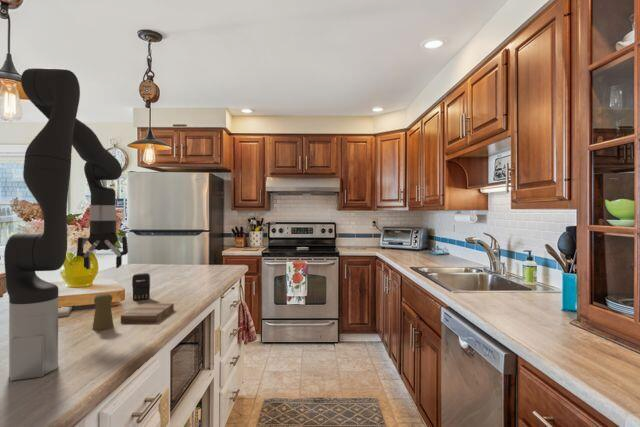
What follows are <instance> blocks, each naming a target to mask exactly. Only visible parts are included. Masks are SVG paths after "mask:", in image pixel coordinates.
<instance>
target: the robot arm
mask: <svg viewBox="0 0 640 427" xmlns="http://www.w3.org/2000/svg"><path fill="white" fill-rule="evenodd" d="M20 84H21V88H22V91H23V92H24V94H25V96H26V97H27V99H28V100H29V101H30V102H31V104H33V106H34V107H36V109H38V110H39V111H40V112H41V113H42V114H43V115H44V117H46V119H48V120H47V122H46V124H45V125H44V126H43V128H41V130H40V131H39V132H38V133H37V135H36V136H35V137H34V138H33V139H32V140H31V142H30V143H29V145H28V146H27V147H26V150H25V154H24V159H23V160H24V161H23V171H22V172H23V174H22V177H23V181H24V184H25V185H26V187H27V188H28V191H29V192H30V193H31V195H32V197H33V198H34V199H35V201H36V202H37V204H38V206H39V208H40V210H41V213H42V217H43V232H18V233H14V234H12V235H11V236H10V237H9V238H8V239H7V241H6V244H5V247H4V257H3V258H4V260H3V261H4V272H5V288H6V292H7V294H8V300H9V301H8V302H9V303H8V304H9V305H8V309H9V310H8V314H9V315H8V323H9V324H8V325H9V326H8V377H9V378H10V379H9V380H10V382H12V381H20V380H27V379H34V378H42V377H44V376H45V375H47V374H50V373H51V372H53V371H55V370H56V369H57V368H58V367H59V317H58V302H59V286H58V285H57V284H55V283H52V282H48V281H46V280H44V279H42V278H40V277H39V276H38V274H37V273H36V272H54V271H57V270H59V269H61V268H62V267H63V265H64V263H65V261H66V258H67V253H68V252H67V251H68V225H67V224H68V215H67V214H68V213H67V212H68V200H69V199H68V196H69V186H70V178H71V170H72V168H71V167H72V153H73V152H72V149H74V150H75V152H76V153H77V154H78V156H79V157H80V159H82V160H83V161H84V162H85V163H84V167H83V170H84V175H85V178H86V181H87V185H88V188H89V191H90V208H89V237H84V236H81V237H78V238H77V246H76V247H77V248H76V256H78V257H82V258H83V267H84V268H85V269H86V270H90V268H91V255H92V254H93V252H94V251H95V250H96V251H101V250H104V251H109V250H111V251H112V252H113V253H114V254H115V255H116V258H115V266H116V267H115V268H116V269H119V268H120V267H121V266H122V263H123V262H122V261H123V258H122V257H123V256H125V255H127V254H128V253H129V246H128V237H127V236H125V235H124V236H118V235H117V219H118V216H117V209H116V208H117V207H116V202H117V200H116V190H115V189H114V188H112V187H108V186H104V185H103V183H102V181H116V180H118V179H120V177H121V176H122V174H123V169H122V165H121V163H120V161H119V160H118V159H117V158H116V157H115V156H114V155H113V154H112V153H111V152H109V151H108V150H107V149H106V148H105V147H104V146H103V144H102V142H101V140H100V139H99V138H98V136H97V134H96V133H95V132H94V131H93V130H92V129H91V128H90V127H89V126H88V125H86V124H85V123H84V122H82V121H81V120H79V119H78V118H77V114H78V111H79V105H80V98H81V87H80V82H79V80H78V77H77V76H76V74H75V73H74V72H73V71H72V70H70V69H66V68H53V67H50V68H49V67H48V68H47V67H32V68H27V69H25V70H24V71H23V72H22V73H21V77H20ZM118 241H119V243H121V244H122V251H121V250H120V249H119V248H118V247H117V245H116V244H117V242H118ZM87 242H88V243H89V245H91V246H89V248H88V249H87V251H86V252H84V245H85V244H87Z"/></svg>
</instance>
